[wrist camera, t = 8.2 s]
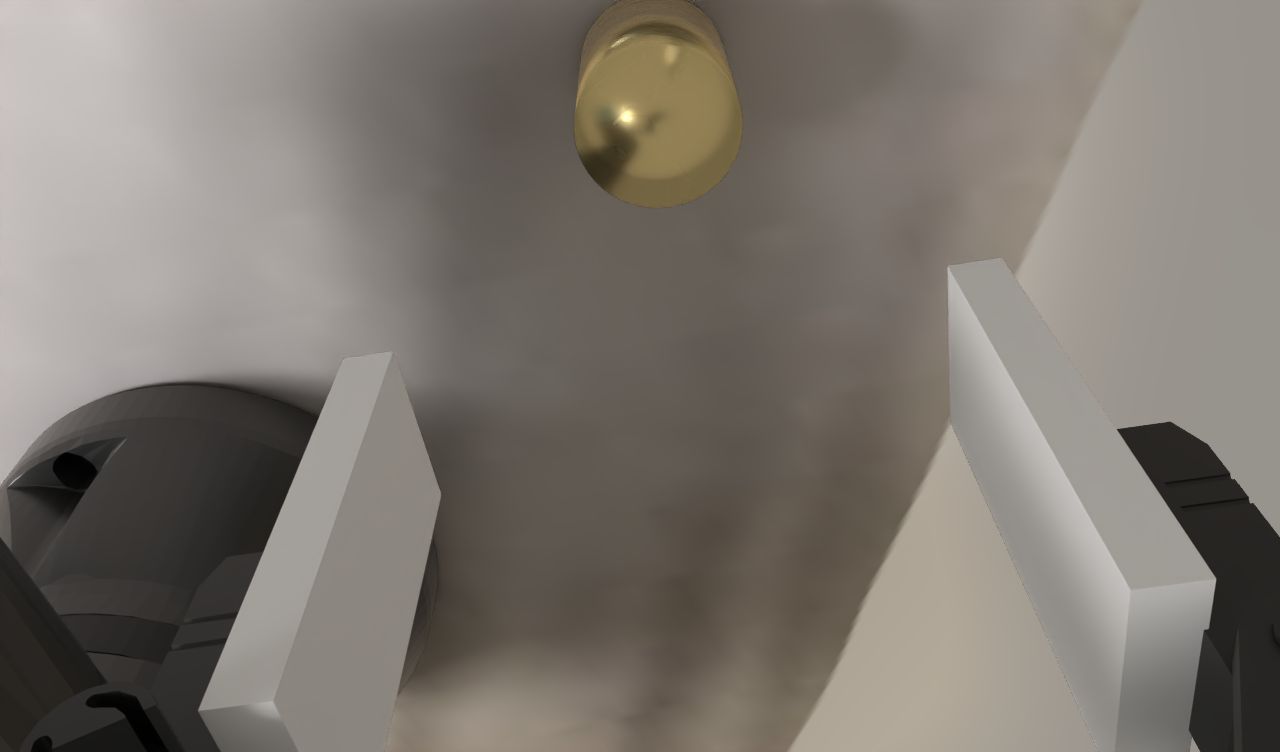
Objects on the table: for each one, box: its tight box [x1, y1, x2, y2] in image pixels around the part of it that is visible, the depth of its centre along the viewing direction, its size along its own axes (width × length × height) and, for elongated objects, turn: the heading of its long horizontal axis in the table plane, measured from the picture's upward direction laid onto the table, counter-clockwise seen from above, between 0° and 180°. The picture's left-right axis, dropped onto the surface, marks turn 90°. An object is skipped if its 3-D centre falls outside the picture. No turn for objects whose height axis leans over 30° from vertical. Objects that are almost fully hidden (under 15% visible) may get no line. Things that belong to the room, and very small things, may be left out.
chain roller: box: [574, 0, 743, 208], centre depth 28 cm, size 4×4×5 cm
